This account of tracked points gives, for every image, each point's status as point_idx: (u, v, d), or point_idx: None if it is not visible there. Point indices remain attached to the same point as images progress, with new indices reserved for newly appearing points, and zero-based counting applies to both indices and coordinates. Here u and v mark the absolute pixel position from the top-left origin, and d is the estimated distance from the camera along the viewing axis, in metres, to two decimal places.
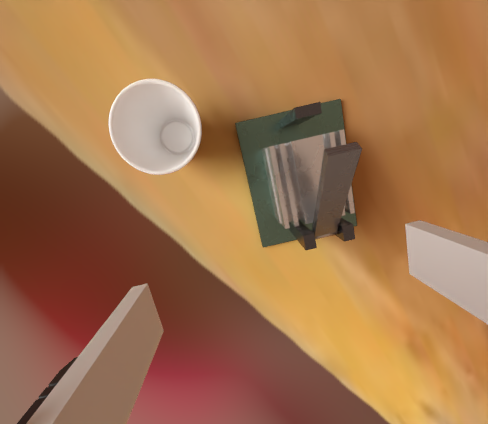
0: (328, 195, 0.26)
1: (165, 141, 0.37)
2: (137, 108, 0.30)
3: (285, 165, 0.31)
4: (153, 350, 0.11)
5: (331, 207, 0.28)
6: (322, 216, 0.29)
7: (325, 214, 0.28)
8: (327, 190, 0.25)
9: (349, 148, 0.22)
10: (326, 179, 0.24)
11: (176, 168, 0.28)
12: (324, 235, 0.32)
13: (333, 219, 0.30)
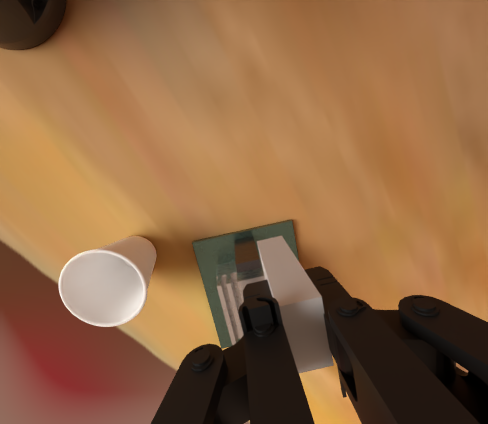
0: None
1: None
2: (91, 255, 0.31)
3: (232, 301, 0.34)
4: None
5: None
6: None
7: None
8: None
9: None
10: None
11: (124, 321, 0.30)
12: None
13: None
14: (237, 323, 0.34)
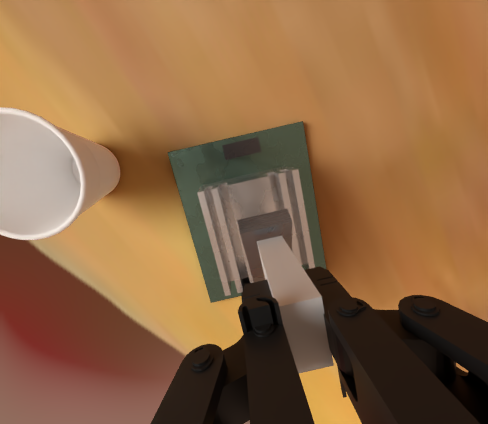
0: (261, 272, 0.18)
1: (78, 175, 0.29)
2: (11, 143, 0.21)
3: (220, 216, 0.23)
4: None
5: None
6: None
7: None
8: (257, 268, 0.17)
9: (274, 219, 0.14)
10: (250, 257, 0.16)
11: (54, 231, 0.19)
12: None
13: None
14: (228, 250, 0.24)
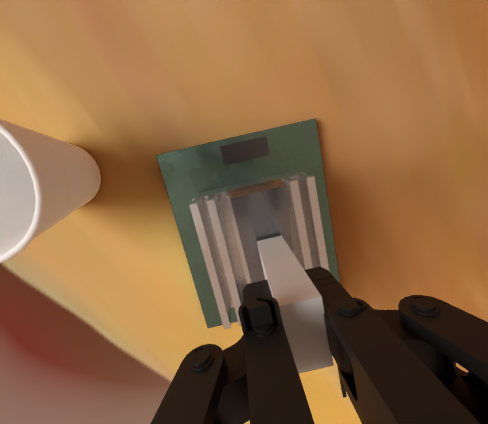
0: (260, 270, 0.16)
1: None
2: None
3: (218, 234, 0.19)
4: None
5: None
6: None
7: None
8: (255, 261, 0.15)
9: (266, 186, 0.13)
10: (245, 240, 0.14)
11: (2, 258, 0.15)
12: None
13: None
14: (227, 275, 0.20)
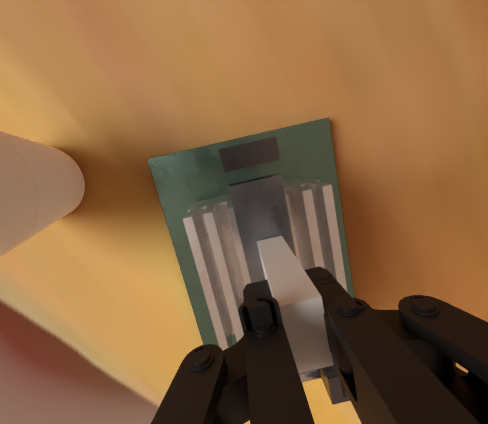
0: (261, 272, 0.15)
1: None
2: None
3: (217, 253, 0.16)
4: None
5: None
6: None
7: None
8: (255, 260, 0.15)
9: (263, 177, 0.14)
10: (243, 235, 0.14)
11: None
12: None
13: None
14: (228, 300, 0.17)
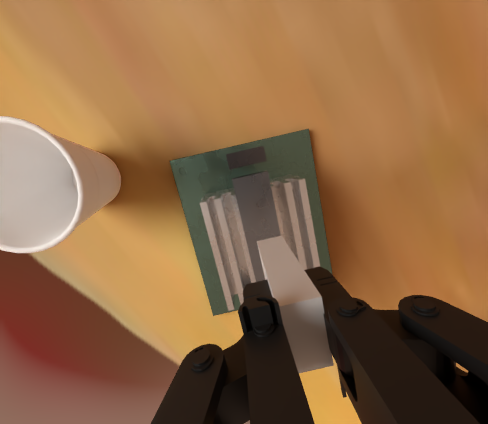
0: (255, 239, 0.21)
1: None
2: (8, 152, 0.21)
3: (224, 227, 0.22)
4: None
5: None
6: (261, 278, 0.22)
7: None
8: (250, 231, 0.21)
9: (256, 173, 0.20)
10: (242, 213, 0.21)
11: (49, 244, 0.19)
12: None
13: None
14: (232, 263, 0.23)
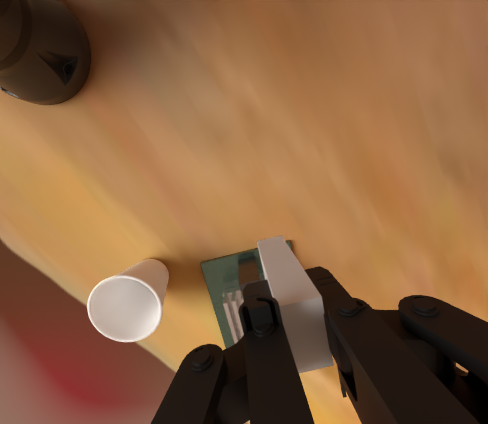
0: None
1: None
2: None
3: (237, 317, 0.37)
4: None
5: None
6: None
7: None
8: None
9: None
10: None
11: (143, 337, 0.34)
12: None
13: None
14: None
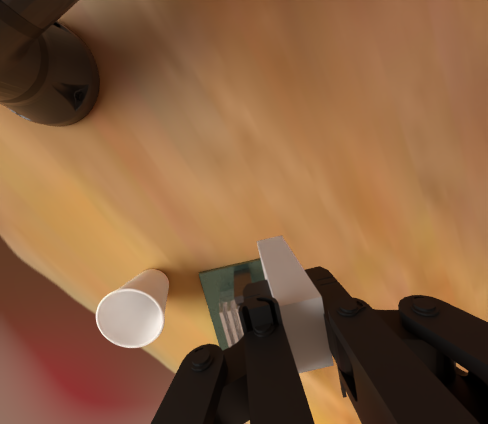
0: None
1: None
2: None
3: (232, 325, 0.41)
4: None
5: None
6: None
7: None
8: None
9: None
10: None
11: (146, 343, 0.37)
12: None
13: None
14: (236, 342, 0.42)
